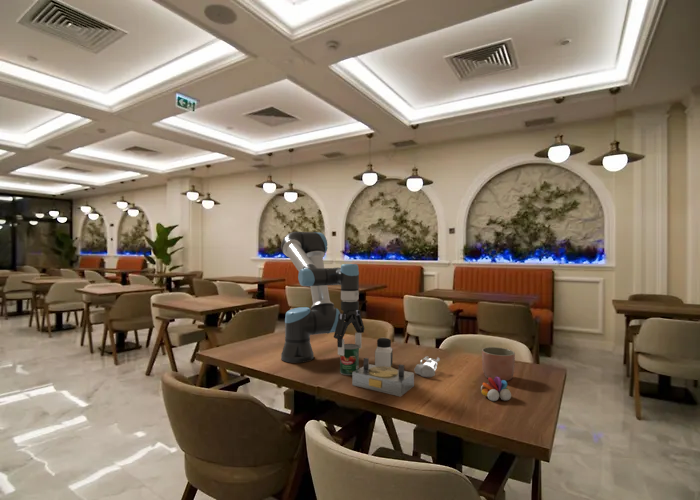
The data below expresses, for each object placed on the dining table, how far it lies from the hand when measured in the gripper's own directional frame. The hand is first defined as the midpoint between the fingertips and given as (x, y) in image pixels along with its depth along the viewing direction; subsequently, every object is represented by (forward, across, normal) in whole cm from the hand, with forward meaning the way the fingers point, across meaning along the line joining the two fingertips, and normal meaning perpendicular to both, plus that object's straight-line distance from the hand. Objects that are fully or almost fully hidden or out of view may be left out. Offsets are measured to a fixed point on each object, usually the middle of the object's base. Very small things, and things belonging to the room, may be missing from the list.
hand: (350, 351), depth 156 cm
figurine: (+10, +17, -28) cm, 34 cm away
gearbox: (+9, -6, -18) cm, 21 cm away
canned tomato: (+9, 0, 0) cm, 9 cm away
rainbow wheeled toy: (+10, +6, -57) cm, 58 cm away
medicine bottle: (+9, +16, -8) cm, 20 cm away
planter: (+10, +27, -54) cm, 61 cm away
